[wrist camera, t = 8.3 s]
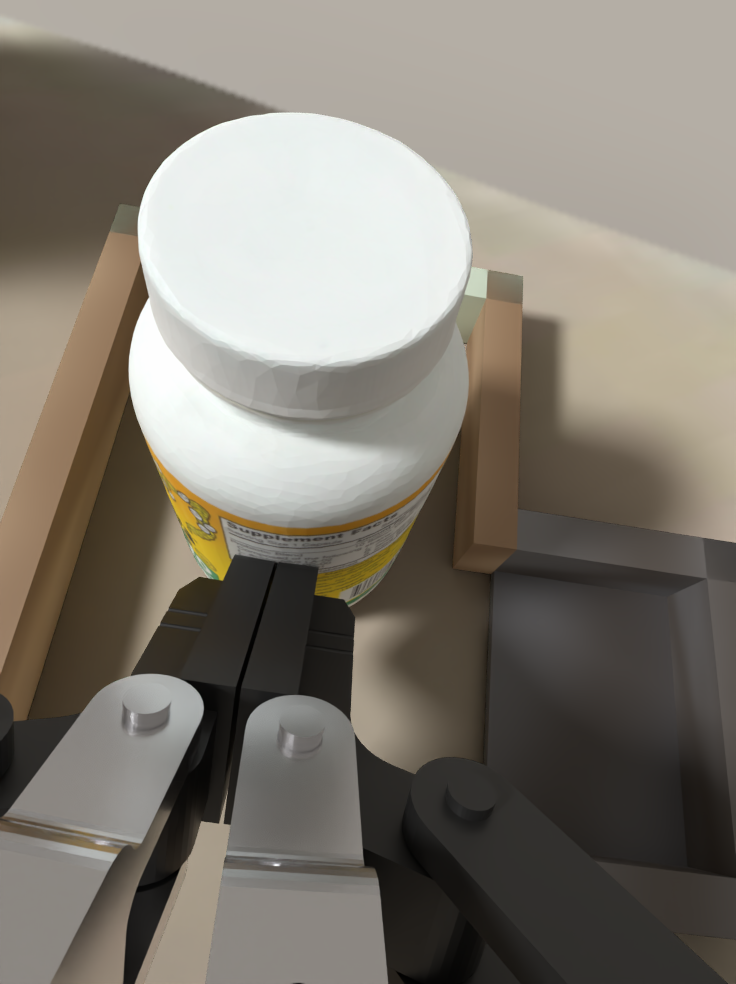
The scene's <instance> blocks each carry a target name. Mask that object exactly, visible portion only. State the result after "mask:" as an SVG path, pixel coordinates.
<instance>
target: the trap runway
mask: <svg viewBox="0 0 736 984" xmlns="http://www.w3.org/2000/svg"><path fill="white" fill-rule="evenodd" d="M139 211H140V207H137V206H131V205H126V204H120V205H119V208H118V210H117V213H116V216H115V218H114V221H113V224H112V226H111V229H110V232H109V234H108V237H107V240H106V242H105V245H104V248H103V250H102V253H101V256H100V258H99V261H98V264H97V266H96V269H95V272H94V274H93V277H92V280H91V282H90V285H89V288H88V290H87V293H86V296H85V298H84V301H83V304H82V306H81V309H80V312H79V314H78V317H77V320H76V322H75V325H74V328H73V330H72V333H71V336H70V338H69V341H68V344H67V346H66V349H65V352H64V354H63V357H62V360H61V362H60V365H59V368H58V370H57V373H56V376H55V378H54V381H53V384H52V386H51V389H50V392H49V394H48V397H47V400H46V402H45V405H44V408H43V410H42V413H41V416H40V418H39V421H38V424H37V426H36V429H35V432H34V434H33V437H32V440H31V442H30V445H29V448H28V450H27V453H26V456H25V458H24V461H23V464H22V466H21V469H20V472H19V474H18V477H17V480H16V482H15V485H14V488H13V490H12V493H11V496H10V498H9V501H8V504H7V506H6V509H5V512H4V514H3V517H2V520H1V522H0V694H2V695H3V696H4V697H6V698H7V699H8V700H9V702H10V703H11V705H12V708H13V711H14V721H23V720H27V717H28V714H29V711H30V707H31V704H32V701H33V698H34V695H35V692H36V688H37V685H38V682H39V679H40V676H41V672H42V669H43V666H44V663H45V660H46V657H47V653H48V650H49V647H50V644H51V641H52V638H53V634H54V631H55V628H56V625H57V622H58V618H59V615H60V612H61V609H62V606H63V603H64V599H65V596H66V593H67V590H68V587H69V583H70V580H71V577H72V574H73V571H74V568H75V564H76V561H77V558H78V555H79V552H80V549H81V545H82V542H83V539H84V536H85V533H86V529H87V526H88V523H89V520H90V517H91V514H92V510H93V507H94V504H95V501H96V498H97V494H98V491H99V488H100V485H101V482H102V479H103V475H104V472H105V469H106V466H107V463H108V460H109V456H110V453H111V450H112V447H113V444H114V440H115V437H116V434H117V431H118V428H119V425H120V421H121V418H122V415H123V412H124V409H125V405H126V402H127V399H128V396H129V393H130V384H129V355H130V348H131V342H132V338H133V333H134V330H135V327H136V324H137V321H138V319H139V316H140V314H141V312H142V310H143V308H144V306H145V304H146V302H147V300H148V298H149V294H148V290H147V286H146V281H145V277H144V273H143V268H142V264H141V260H140V255H139V246H138V216H139ZM522 300H523V276H519V275H513V274H508V273H502V272H497V271H491V270H486V269H480V268H475V267H471V273H470V278H469V281H468V284H467V287H466V291H465V294H464V297H463V300H462V303H461V306H460V309H459V312H458V315H457V318H456V324H457V326H458V329H459V331H460V334H461V337H462V340H463V343H467V349H466V357H467V362H468V372H469V388H468V399H467V405H466V411H465V415H464V418H463V421H462V427H461V442H460V458H459V473H458V489H457V504H456V520H455V535H454V550H453V566H452V568H453V569H459V570H466V571H473V572H479V573H486V574H491V584H490V610H489V636H488V661H487V687H486V713H485V739H484V764H483V765H485V766H487V767H489V768H491V769H493V770H494V771H496V772H497V773H499V774H500V775H501V776H503V777H504V778H505V779H506V780H507V781H509V782H510V783H511V784H512V785H513V786H514V787H515V788H516V789H517V790H518V791H519V792H520V793H522V794H523V795H524V796H525V797H526V798H527V799H528V800H529V801H530V802H531V803H532V804H533V805H535V806H536V807H537V808H538V809H539V810H540V811H541V812H542V813H543V814H544V815H545V816H547V817H548V818H549V819H550V820H551V821H552V822H553V823H554V824H555V825H556V826H557V827H558V828H560V829H561V830H562V831H563V832H564V833H565V834H566V835H567V836H568V837H569V838H570V839H571V840H573V841H574V842H575V843H576V844H577V845H578V846H579V847H580V848H581V849H582V850H583V851H585V852H586V853H587V854H588V855H589V856H590V857H591V858H592V859H593V860H594V861H595V862H596V863H598V864H599V865H600V866H601V867H602V868H603V869H604V870H605V871H606V872H607V873H608V874H609V875H611V876H612V877H613V878H614V879H615V880H616V881H617V882H618V883H619V884H620V885H621V886H623V887H624V888H625V889H626V890H627V891H628V892H629V893H630V894H631V895H632V896H633V897H634V898H636V899H637V900H638V901H639V902H640V903H641V904H642V905H643V906H644V907H645V908H646V909H647V910H649V911H650V912H651V913H652V914H653V915H654V916H655V917H656V918H657V919H658V920H659V921H661V922H662V923H663V924H664V925H665V926H666V927H667V928H668V929H669V930H670V931H671V932H673V933H682V934H691V935H699V936H708V937H717V938H725V939H734V940H736V543H733V542H726V541H720V540H714V539H707V538H701V537H694V536H688V535H682V534H675V533H669V532H662V531H656V530H650V529H643V528H637V527H631V526H624V525H618V524H611V523H605V522H599V521H592V520H586V519H579V518H573V517H567V516H560V515H554V514H548V513H541V512H535V511H528V510H522V509H518V481H519V436H520V391H521V345H522Z"/></svg>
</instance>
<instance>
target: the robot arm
mask: <svg viewBox="0 0 736 984" xmlns="http://www.w3.org/2000/svg"><path fill="white" fill-rule="evenodd" d="M318 570H319V567H312V566H306V565H299V564H292V563H282V562H278V566H277V569H276V572H275V561H269V560H264V559H259V558H254V557H248V556H242V555H236V554H235V555H234V557H233V559H232V561H231V563H230V566H229V568H228V570H227V572H226V575H225V577H224V579H223V581H222V580H216V579H210V578H203V577H198V578H197V579H195V580H194V581H192V582H191V583H189V584H187V585H186V586H184V587H183V588H181V589H180V590H179V591H178V592H177V594H176V596H175V598H174V599H173V601H172V603H171V605H170V607H169V610H168V611H167V612H166V614H165V615H164V617H163V619H162V621H161V623H160V626H158V628H157V630H156V631H155V633H154V635H153V637H152V638H151V640H150V642H149V644H148V646H147V647H146V649H145V651H144V653H143V654H142V656H141V658H140V660H139V662H138V663H137V665H136V667H135V669H134V670H133V672H132V674H131V676H129V677H126V678H122V679H120V680H117V681H115V682H112V683H111V684H109V685H107V686H106V687H104V688H103V689H102V690H100V691H99V692H98V693H97V694H96V695H95V696H94V697H93V698H92V700H91V701H90V702H89V704H88V705H87V706H86V708H85V709H84V710H83V712H82V713H79V714H75V715H70V716H64V717H57V718H46V719H34V720H23V721H14V711H13V708H12V705H11V703H10V702H9V700H8V699H7V698H6V697H4V696H3V695H2V694H0V984H144V982H145V980H146V977H147V975H148V972H149V969H150V967H151V964H152V962H153V959H154V956H155V954H156V951H157V949H158V946H159V943H160V941H161V938H162V936H163V933H164V930H165V928H166V925H167V922H168V920H169V917H170V915H171V912H172V909H173V907H174V904H175V902H176V899H177V896H178V894H179V891H180V889H181V886H182V883H183V881H184V878H185V875H186V871H187V864H188V857H189V855H190V854H191V851H192V849H193V846H194V843H195V840H196V837H197V833H198V830H199V827H200V823H201V821H204V822H212V823H219V821H220V817H221V814H222V810H223V806H224V802H225V799H226V795H227V791H228V795H227V802H226V810H225V818H224V824H229V825H231V826H230V833H229V839H228V846H227V852H226V857H225V860H224V866H223V872H222V878H221V885H220V891H219V898H218V904H217V911H216V917H215V924H214V930H213V936H212V943H211V949H210V956H209V962H208V969H207V975H206V982H205V984H728V983H727V982H726V981H725V980H723V979H722V978H721V977H720V976H719V975H718V974H717V973H716V972H715V971H714V970H713V969H712V968H710V967H709V966H708V965H707V964H706V963H705V962H704V961H703V960H702V959H701V958H700V957H699V956H697V955H696V954H695V953H694V952H693V951H692V950H691V949H690V948H689V947H688V946H687V945H685V944H684V943H683V942H682V941H681V940H680V939H679V938H678V937H677V936H676V935H675V934H674V933H672V932H671V931H670V930H669V929H668V928H667V927H666V926H665V925H664V924H663V923H662V922H661V921H659V920H658V919H657V918H656V917H655V916H654V915H653V914H652V913H651V912H650V911H649V910H647V909H646V908H645V907H644V906H643V905H642V904H641V903H640V902H639V901H638V900H637V899H636V898H634V897H633V896H632V895H631V894H630V893H629V892H628V891H627V890H626V889H625V888H624V887H623V886H621V885H620V884H619V883H618V882H617V881H616V880H615V879H614V878H613V877H612V876H611V875H609V874H608V873H607V872H606V871H605V870H604V869H603V868H602V867H601V866H600V865H599V864H598V863H596V862H595V861H594V860H593V859H592V858H591V857H590V856H589V855H588V854H587V853H586V852H585V851H583V850H582V849H581V848H580V847H579V846H578V845H577V844H576V843H575V842H574V841H573V840H571V839H570V838H569V837H568V836H567V835H566V834H565V833H564V832H563V831H562V830H561V829H560V828H558V827H557V826H556V825H555V824H554V823H553V822H552V821H551V820H550V819H549V818H548V817H547V816H545V815H544V814H543V813H542V812H541V811H540V810H539V809H538V808H537V807H536V806H535V805H533V804H532V803H531V802H530V801H529V800H528V799H527V798H526V797H525V796H524V795H523V794H522V793H520V792H519V791H518V790H517V789H516V788H515V787H514V786H513V785H512V784H511V783H510V782H509V781H507V780H506V779H505V778H504V777H503V776H501V775H500V774H499V773H497V772H496V771H494V770H493V769H491V768H489V767H487V766H485V765H483V764H481V763H478V762H475V761H473V760H468V759H464V758H456V757H446V758H440V759H436V760H433V761H430V762H428V763H427V764H425V765H423V766H422V767H421V768H420V769H419V770H418V771H417V773H416V774H412V773H410V772H407V771H405V770H403V769H400V768H398V767H395V766H393V765H391V764H389V763H387V762H385V761H383V760H381V759H380V758H378V757H376V756H375V755H374V754H372V753H371V752H370V751H369V750H367V749H366V747H365V746H364V745H363V744H362V743H361V742H360V741H359V739H358V738H357V736H356V735H355V733H354V729H353V727H352V725H351V718H350V712H351V690H352V669H353V647H354V640H353V639H354V626H355V617H354V615H353V613H352V612H351V610H350V608H349V607H348V605H347V604H346V602H345V600H344V599H338V598H332V597H325V596H319V595H314V594H315V588H316V582H317V576H318Z"/></svg>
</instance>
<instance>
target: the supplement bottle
mask: <svg viewBox="0 0 736 984" xmlns="http://www.w3.org/2000/svg"><path fill="white" fill-rule="evenodd" d="M138 246H139V255H140V260H141V264H142V268H143V273H144V277H145V281H146V286H147V290H148V294H149V298H148V300H147V302H146V304H145V306H144V308H143V310H142V312H141V314H140V316H139V319H138V321H137V324H136V327H135V330H134V333H133V338H132V342H131V348H130V355H129V384H130V391H131V397H132V402H133V406H134V410H135V413H136V416H137V419H138V422H139V424H140V427H141V430H142V432H143V435H144V437H145V440H146V443H147V446H148V448H149V450H150V453H151V455H152V458H153V460H154V462H155V465H156V467H157V470H158V472H159V475H160V477H161V479H162V481H163V484H164V486H165V489H166V491H167V494H168V496H169V498H170V501H171V503H172V506H173V509H174V511H175V513H176V516H177V518H178V520H179V522H180V524H181V527H182V530H183V532H184V535H185V538H186V540H187V542H188V545H189V547H190V550H191V551H192V553H193V555H194V557H195V559H196V561H197V563H198V564H199V566H200V567H201V569H202V570H203V571H204V573H205V574H206V576H207V577H208V578H210V579H216V580H222V581H223V579H224V577H225V575H226V572H227V570H228V568H229V566H230V563H231V561H232V559H233V557H234V555H235V554H236V555H242V556H248V557H254V558H259V559H264V560H269V561H275V572H276V569H277V566H278V562H282V563H292V564H299V565H306V566H312V567H319V570H318V576H317V582H316V588H315V594H314V595H319V596H325V597H332V598H338V599H344V600H345V602H346V604H347V605H348V607H350V606H352V605H353V604H355V603H357V602H358V601H360V600H361V599H362V598H364V597H365V596H366V595H367V594H369V593H370V592H371V591H372V590H373V589H374V588H375V587H376V586H377V585H378V584H379V583H380V581H381V580H382V579H383V578H384V576H385V575H386V574H387V572H388V571H389V569H390V568H391V566H392V564H393V563H394V561H395V559H396V557H397V556H398V554H399V552H400V550H401V548H402V546H403V545H404V543H405V541H406V539H407V537H408V534H409V532H410V530H411V528H412V526H413V524H414V522H415V520H416V518H417V516H418V514H419V512H420V510H421V508H422V507H423V505H424V503H425V501H426V499H427V497H428V495H429V493H430V491H431V489H432V487H433V485H434V483H435V481H436V479H437V477H438V475H439V473H440V471H441V469H442V467H443V465H444V463H445V462H446V460H447V458H448V456H449V454H450V452H451V450H452V447H453V445H454V442H455V440H456V438H457V435H458V433H459V431H460V428H461V425H462V421H463V418H464V415H465V411H466V405H467V399H468V388H469V372H468V362H467V357H466V352H465V347H464V343H463V340H462V337H461V334H460V331H459V329H458V326H457V324H456V318H457V315H458V312H459V309H460V306H461V303H462V300H463V297H464V294H465V291H466V287H467V284H468V281H469V278H470V273H471V266H472V258H473V252H472V239H471V234H470V228H469V224H468V220H467V217H466V214H465V212H464V210H463V208H462V206H461V204H460V201H459V199H458V198H457V196H456V194H455V192H454V191H453V190H452V188H451V187H450V186H449V185H448V183H447V182H446V180H445V179H444V178H443V177H442V176H441V175H440V174H439V173H438V171H437V170H436V169H435V168H434V167H433V166H431V165H430V164H429V163H428V162H427V161H426V160H424V159H423V158H422V157H421V156H420V155H418V154H417V153H416V152H414V151H413V150H412V149H410V148H409V147H408V146H406V145H404V144H403V143H402V142H400V141H398V140H396V139H394V138H392V137H390V136H388V135H386V134H383V133H381V132H380V131H377V130H374V129H371V128H369V127H366V126H364V125H361V124H358V123H356V122H352V121H348V120H345V119H341V118H335V117H330V116H326V115H320V114H314V113H296V112H284V113H268V114H264V115H253V116H248V117H243V118H240V119H236V120H232V121H228V122H224V123H221V124H218V125H216V126H213V127H211V128H209V129H207V130H205V131H203V132H201V133H200V134H198V135H196V136H194V137H193V138H191V139H190V140H188V141H187V142H185V143H184V144H183V145H181V146H180V147H179V148H178V149H176V150H175V151H174V152H173V153H172V154H171V155H170V156H169V157H168V158H166V159H165V160H164V162H163V163H162V164H161V166H160V167H159V168H158V170H157V171H156V173H155V174H154V175H153V177H152V179H151V181H150V183H149V185H148V186H147V188H146V190H145V192H144V196H143V199H142V203H141V206H140V211H139V216H138Z"/></svg>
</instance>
